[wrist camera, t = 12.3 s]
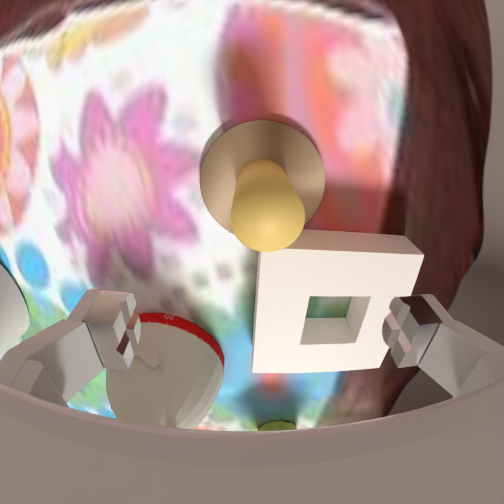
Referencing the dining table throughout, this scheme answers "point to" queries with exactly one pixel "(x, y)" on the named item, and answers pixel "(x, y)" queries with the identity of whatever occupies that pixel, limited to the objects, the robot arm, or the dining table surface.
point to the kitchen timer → (168, 374)
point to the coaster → (254, 147)
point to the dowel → (266, 207)
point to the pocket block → (329, 284)
